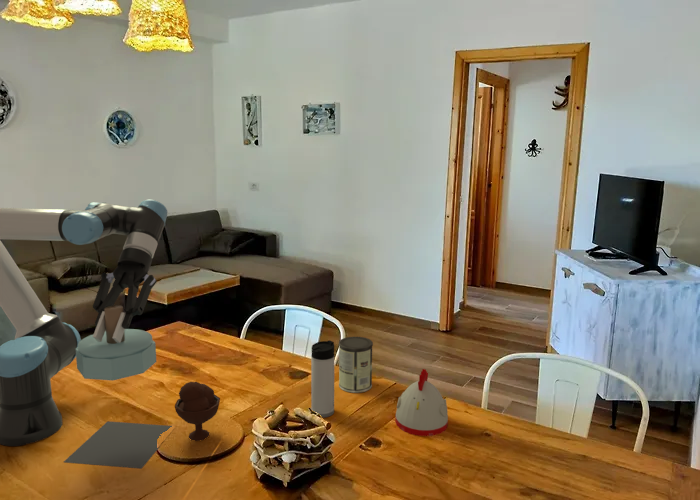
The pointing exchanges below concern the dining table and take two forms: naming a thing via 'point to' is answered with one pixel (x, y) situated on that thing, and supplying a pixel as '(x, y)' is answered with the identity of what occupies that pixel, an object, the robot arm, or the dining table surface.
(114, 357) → the lid
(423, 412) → the kitchen timer
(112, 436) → the mat
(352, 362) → the coffee can
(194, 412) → the ice cream bowl
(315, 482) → the dining table surface
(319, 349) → the travel mug
